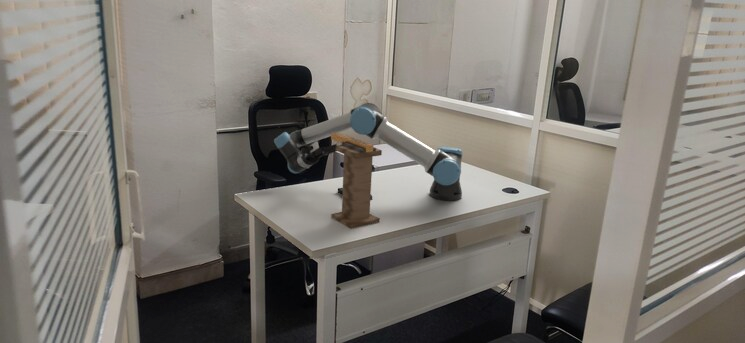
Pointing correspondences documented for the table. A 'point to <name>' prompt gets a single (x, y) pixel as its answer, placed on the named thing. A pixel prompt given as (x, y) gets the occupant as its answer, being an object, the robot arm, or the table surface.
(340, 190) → the disk drive
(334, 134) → the wood grain block
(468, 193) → the table surface
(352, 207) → the stand
